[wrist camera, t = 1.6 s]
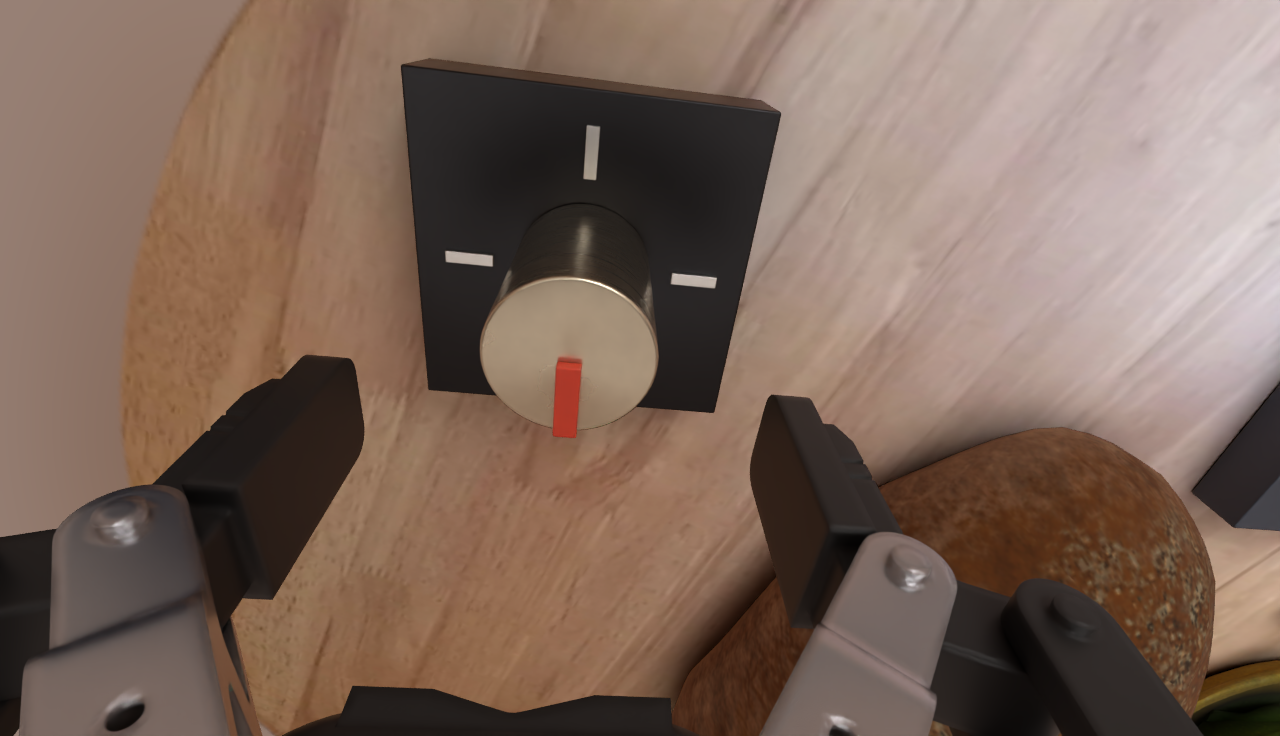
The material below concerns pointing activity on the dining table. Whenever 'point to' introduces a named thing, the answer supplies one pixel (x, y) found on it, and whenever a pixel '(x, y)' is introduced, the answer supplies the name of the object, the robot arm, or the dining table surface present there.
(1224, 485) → the button block
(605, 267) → the knob
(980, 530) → the bread
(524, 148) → the panel
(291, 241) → the dining table surface
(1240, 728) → the tableware set
